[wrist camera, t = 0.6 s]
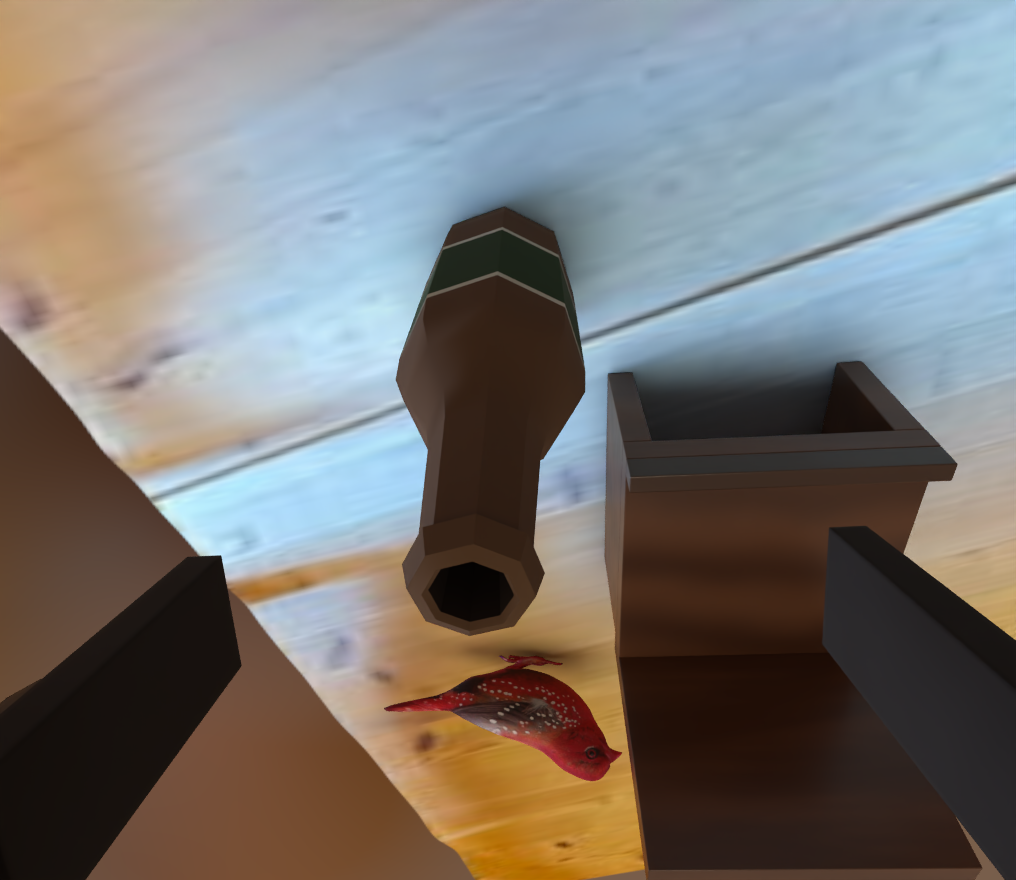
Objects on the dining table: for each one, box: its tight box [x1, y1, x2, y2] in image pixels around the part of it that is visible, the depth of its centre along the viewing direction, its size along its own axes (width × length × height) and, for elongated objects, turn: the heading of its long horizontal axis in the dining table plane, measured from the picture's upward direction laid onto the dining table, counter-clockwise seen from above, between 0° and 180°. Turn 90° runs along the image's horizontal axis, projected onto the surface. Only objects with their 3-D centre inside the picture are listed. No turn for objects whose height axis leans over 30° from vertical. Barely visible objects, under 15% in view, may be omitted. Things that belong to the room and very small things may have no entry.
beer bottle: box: [396, 207, 585, 636], centre depth 27 cm, size 8×8×24 cm
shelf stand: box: [605, 362, 982, 880], centre depth 36 cm, size 16×15×21 cm
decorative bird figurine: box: [384, 655, 622, 781], centre depth 50 cm, size 3×18×10 cm, turn 83°
